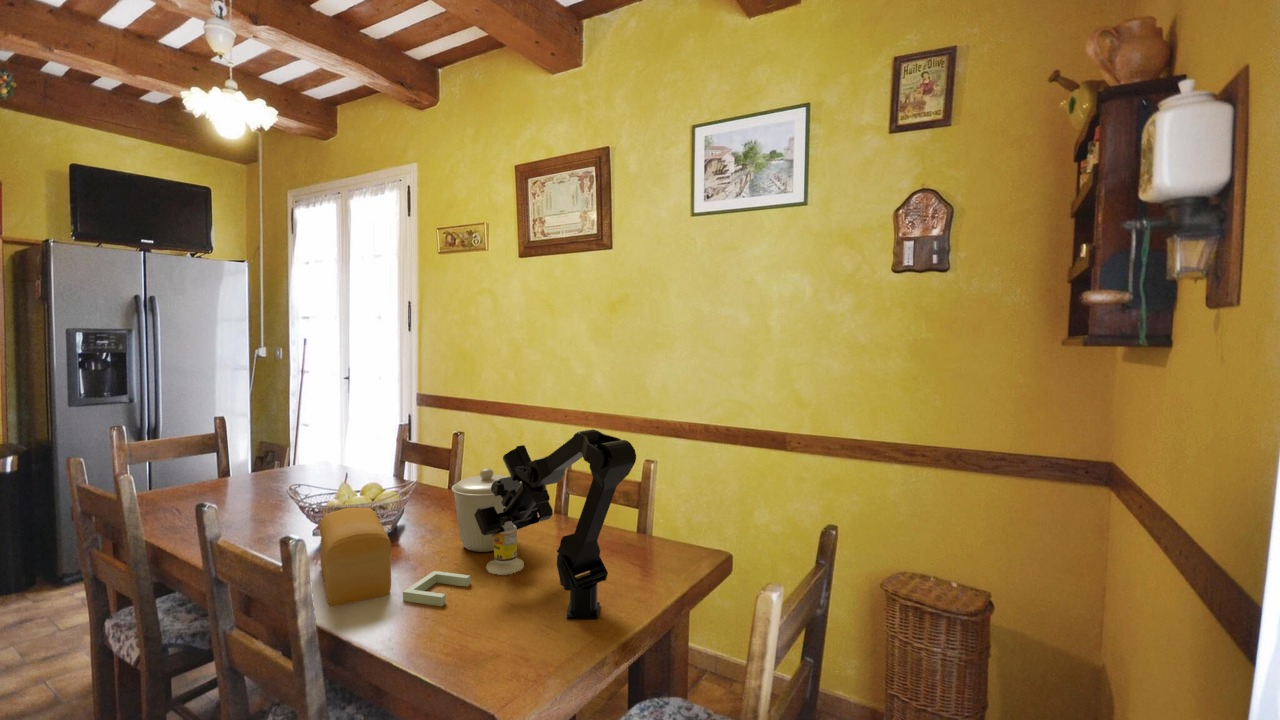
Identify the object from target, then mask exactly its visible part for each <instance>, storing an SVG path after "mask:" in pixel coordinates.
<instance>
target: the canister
mask: <svg viewBox="0 0 1280 720" xmlns="http://www.w3.org/2000/svg"><path fill="white" fill-rule="evenodd" d="M506 477H510V476H507V475H504V474H494V470H493V469H491V468H487V467H486V468H482V469H481V470H480V471H479V475H473V476H470V477H469V476H468V477H465V478H462V479H461V480H458V482H457V483H454V484H453V485H452V487H451V491H452V492H453V493H454V501H455V502H454V503H455V508H456V509H455V510H456V518H457V519H456V520H457V526H458V532H459V538H460V542H461V543H462V545H463V547H464V549H467V550H468V551H472V552H478V553H487V552H494V536H493V537H492V535H491V534H489V535H483V534H482V533H481V530H480V528H479V526H478V523H477V521H476V518H475V516H474V515H475V513H476V511H477V509H478V508H482V507H486V506H494V508H495V509H496V512H497V514H498V513H502V512H503V509H504V508H506V507H505V506H503V505H502V503H501V502H502V500H503V498H502V497H501V496H500V495H499V496H495V495H494V494H493V493H492V491H491V486H492V484H493V483H494V482H495V481H496V480H499V479H501V478H506Z"/></svg>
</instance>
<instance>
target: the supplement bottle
mask: <svg viewBox="0 0 1280 720" xmlns="http://www.w3.org/2000/svg"><path fill="white" fill-rule="evenodd" d="M503 528H504V530H505V531H504V532H502V533H500V534H498V535H495V536H494V551H493V558H494V559H493V560H495V561H496V562H498V563H510V562H513V561H515V560H516V559H517V558H518V530H517V527H516V526H515V525H514V523H512V521H510V522H506V523H505V525H504V526H503Z"/></svg>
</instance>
